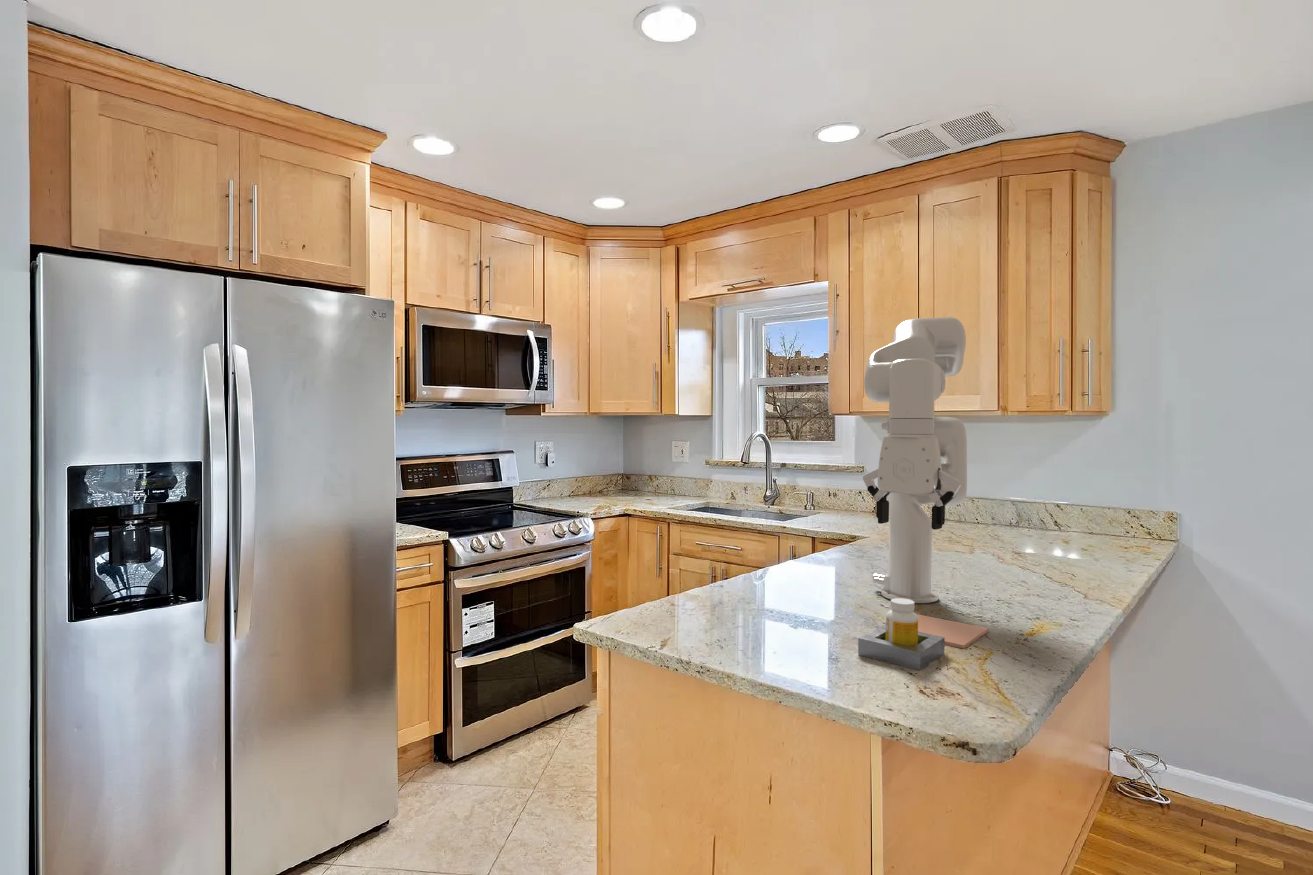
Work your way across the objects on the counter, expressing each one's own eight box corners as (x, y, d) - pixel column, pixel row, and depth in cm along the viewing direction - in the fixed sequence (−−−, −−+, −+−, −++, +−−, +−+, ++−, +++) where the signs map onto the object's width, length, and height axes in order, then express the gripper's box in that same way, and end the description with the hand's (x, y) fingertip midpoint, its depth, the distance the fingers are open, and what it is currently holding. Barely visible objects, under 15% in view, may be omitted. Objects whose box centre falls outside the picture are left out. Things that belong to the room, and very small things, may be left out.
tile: (889, 632, 135) (889, 628, 135) (917, 617, 145) (917, 614, 145) (963, 648, 126) (963, 645, 126) (988, 631, 136) (988, 628, 136)
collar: (858, 654, 122) (858, 637, 122) (884, 640, 130) (885, 624, 130) (920, 670, 114) (920, 652, 114) (944, 653, 123) (944, 637, 122)
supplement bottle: (878, 651, 123) (879, 598, 123) (901, 647, 126) (902, 595, 126) (901, 661, 119) (902, 606, 118) (924, 657, 121) (925, 602, 121)
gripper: (855, 428, 125) (854, 522, 125) (953, 429, 113) (951, 533, 114) (874, 428, 131) (872, 518, 131) (969, 429, 119) (967, 528, 119)
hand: (909, 525), depth 122 cm, fingers open, 9 cm apart
